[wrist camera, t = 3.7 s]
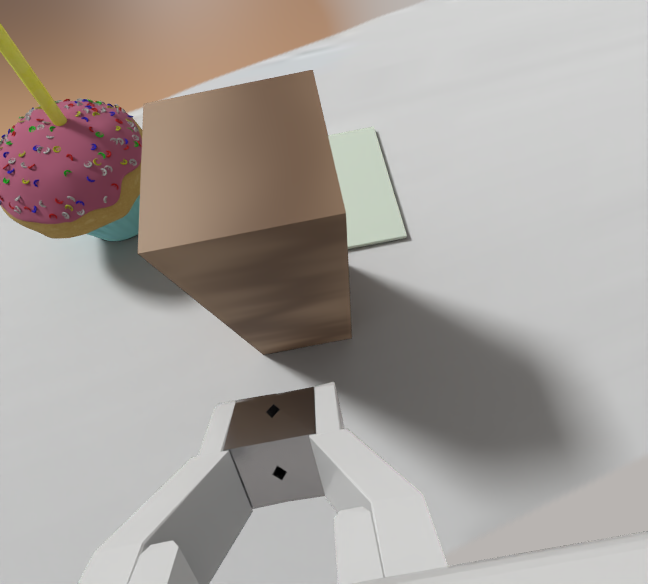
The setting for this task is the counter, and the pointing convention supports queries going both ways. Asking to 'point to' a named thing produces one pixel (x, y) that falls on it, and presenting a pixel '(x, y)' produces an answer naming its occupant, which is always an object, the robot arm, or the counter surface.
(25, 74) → the cupcake
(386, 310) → the counter surface
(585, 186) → the counter surface
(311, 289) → the block
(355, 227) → the mat
